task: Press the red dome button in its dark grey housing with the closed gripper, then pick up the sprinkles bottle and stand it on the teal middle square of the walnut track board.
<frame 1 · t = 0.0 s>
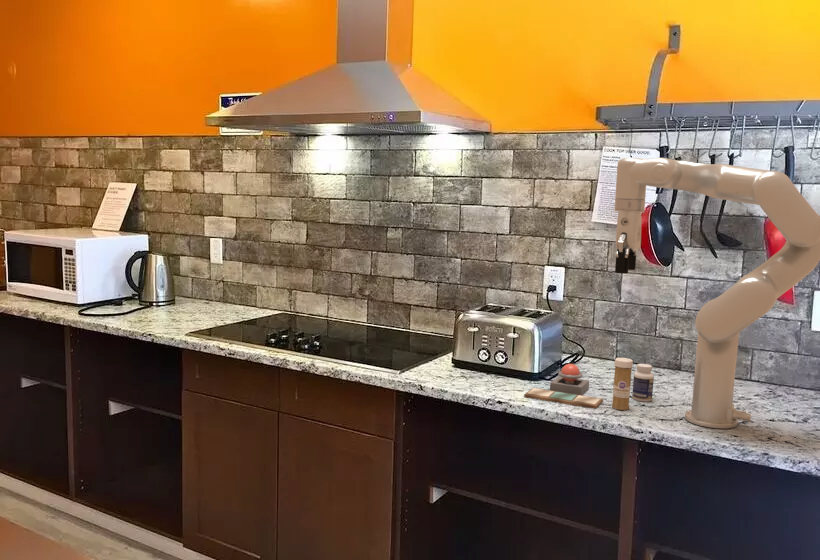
hand: (625, 271, 199), 37 cm above the table, tool pointing down, fingers open, 9 cm apart
sprinkles bottle: (620, 408, 202), on the table
button housing: (569, 390, 218), on the table
track board: (563, 399, 209), on the table
dome button: (570, 373, 217), point 5 cm above the table, slide at 0.0 cm
pill bottle: (642, 399, 211), on the table
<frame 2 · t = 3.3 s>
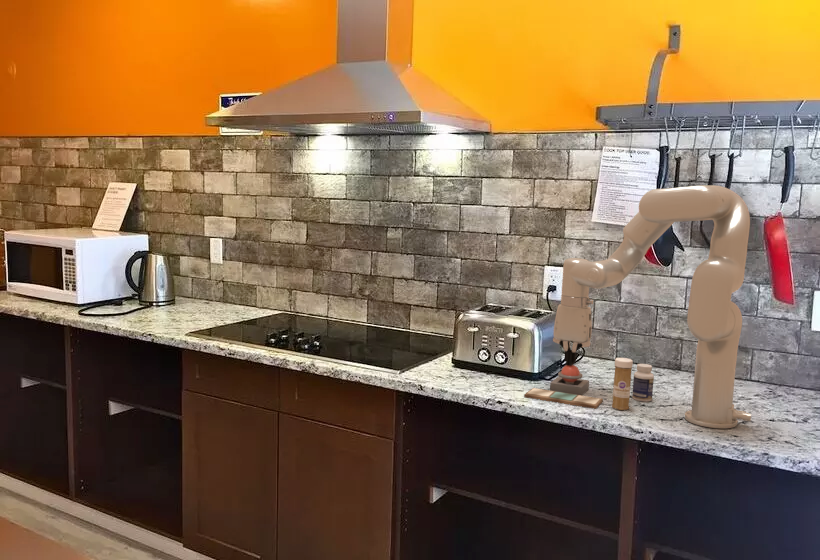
hand: (569, 364, 217), 8 cm above the table, tool pointing down, fingers closed
dome button: (570, 374, 217), point 5 cm above the table, slide at 0.2 cm, touching gripper
everything else where it was.
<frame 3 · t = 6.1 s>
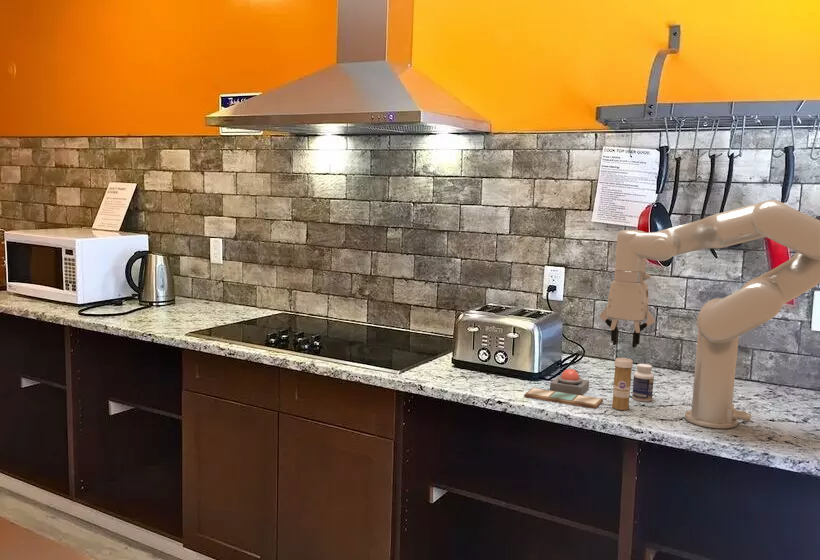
hand: (624, 344, 200), 17 cm above the table, tool pointing down, fingers open, 4 cm apart
dome button: (570, 378, 218), point 3 cm above the table, slide at 1.5 cm
everything else where it was.
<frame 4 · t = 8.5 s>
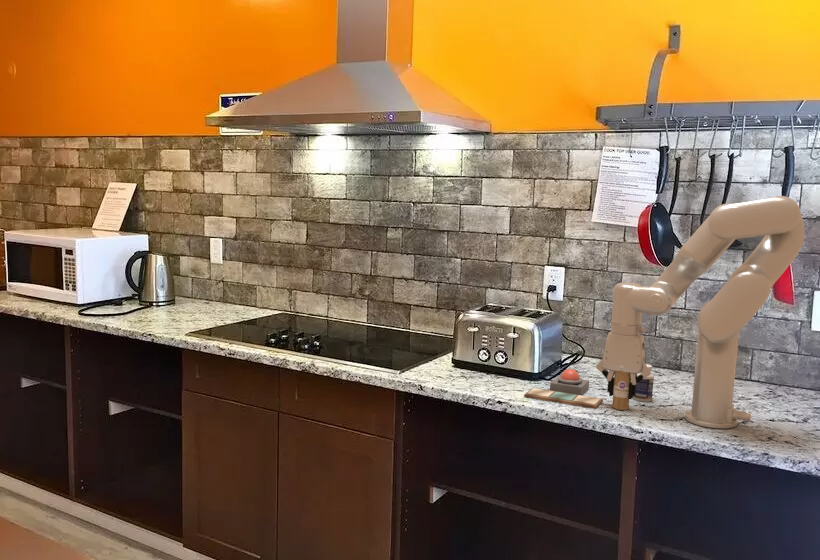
hand: (621, 395, 202), 3 cm above the table, tool pointing down, fingers closed on sprinkles bottle, 4 cm apart
sprinkles bottle: (620, 408, 202), on the table, touching gripper
everything else where it was.
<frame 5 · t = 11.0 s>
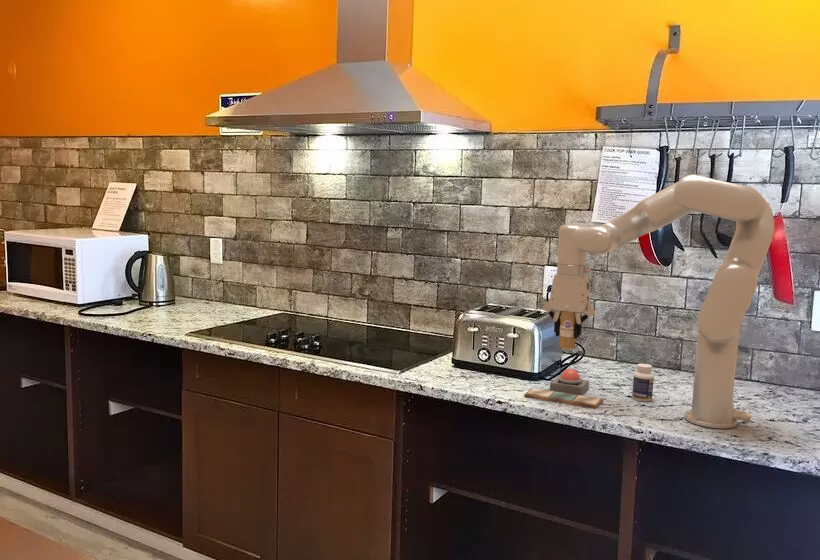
hand: (567, 335, 206), 18 cm above the table, tool pointing down, fingers closed on sprinkles bottle, 4 cm apart
sprinkles bottle: (566, 348, 207), point 14 cm above the table, touching gripper
everything else where it was.
when the fingers open (5 cm above the table, at t = 13.5 s): sprinkles bottle drops 1 cm, resting on track board.
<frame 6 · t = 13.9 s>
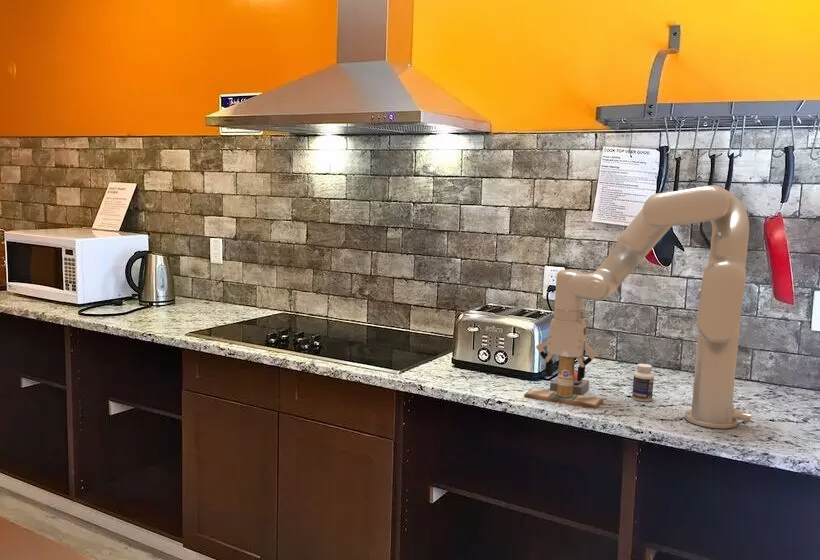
hand: (564, 377, 208), 6 cm above the table, tool pointing down, fingers open, 8 cm apart
sprinkles bottle: (564, 396, 209), point 1 cm above the table, touching track board
everything else where it was.
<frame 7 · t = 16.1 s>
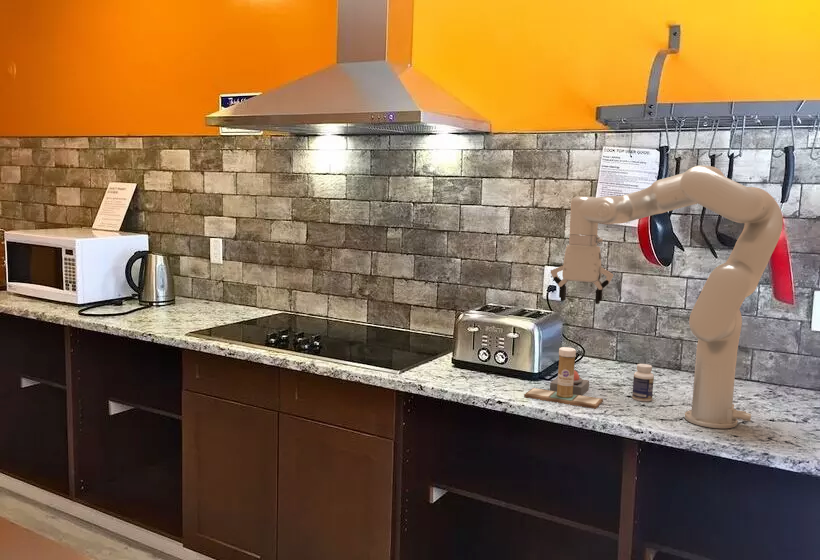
hand: (580, 301, 212), 26 cm above the table, tool pointing down, fingers open, 9 cm apart
nothing on the table moved.
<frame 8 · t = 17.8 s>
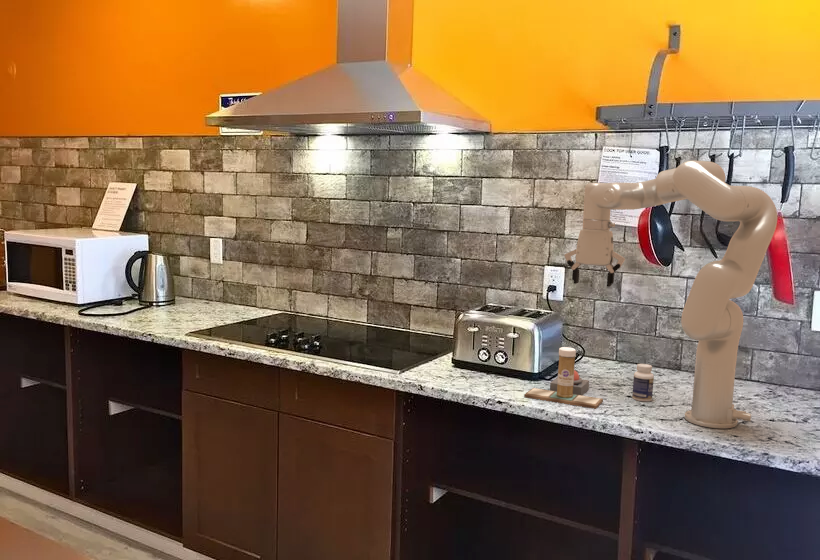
hand: (592, 284, 219), 30 cm above the table, tool pointing down, fingers open, 9 cm apart
nothing on the table moved.
at the end: dome button slide at 1.5 cm; sprinkles bottle inside the target area (0.4 cm from its centre), point 0.8 cm above the table; sprinkles bottle tilted 0° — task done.
